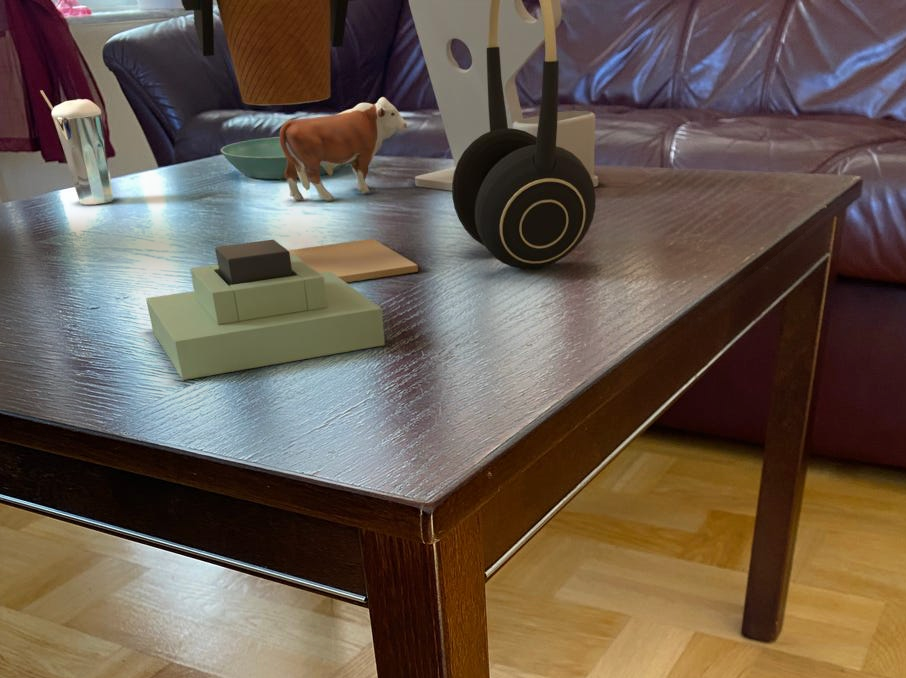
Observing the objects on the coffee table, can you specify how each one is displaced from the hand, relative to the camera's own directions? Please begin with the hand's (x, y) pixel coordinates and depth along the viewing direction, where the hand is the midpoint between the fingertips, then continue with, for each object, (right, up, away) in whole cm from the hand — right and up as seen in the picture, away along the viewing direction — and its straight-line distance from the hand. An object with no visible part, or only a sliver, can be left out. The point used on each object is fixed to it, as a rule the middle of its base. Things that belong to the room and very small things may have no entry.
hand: (269, 35), depth 74 cm
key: (+2, -22, -13) cm, 26 cm away
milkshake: (-24, 0, +29) cm, 37 cm away
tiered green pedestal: (+2, -25, -11) cm, 28 cm away
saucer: (-6, +8, +40) cm, 41 cm away
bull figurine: (+2, 0, +27) cm, 27 cm away
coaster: (+4, -16, +3) cm, 16 cm away
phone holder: (+18, +2, +28) cm, 33 cm away
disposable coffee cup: (+1, -5, 0) cm, 5 cm away
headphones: (+18, -15, +3) cm, 24 cm away
